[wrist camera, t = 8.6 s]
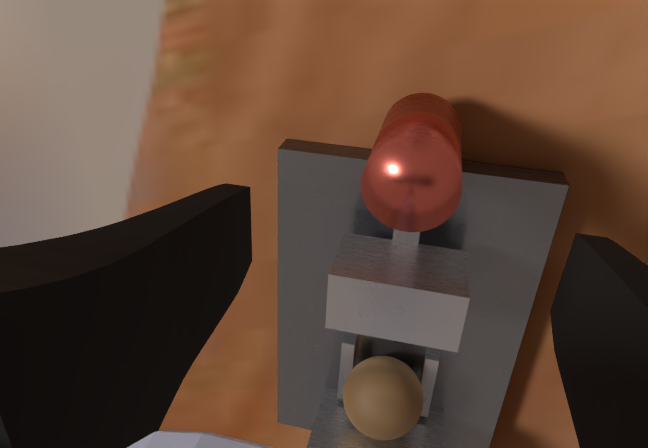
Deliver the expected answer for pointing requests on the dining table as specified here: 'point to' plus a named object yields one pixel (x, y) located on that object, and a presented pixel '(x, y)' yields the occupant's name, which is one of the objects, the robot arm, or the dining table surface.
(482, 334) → the bench
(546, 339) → the dining table surface
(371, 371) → the nut
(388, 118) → the ram handle
